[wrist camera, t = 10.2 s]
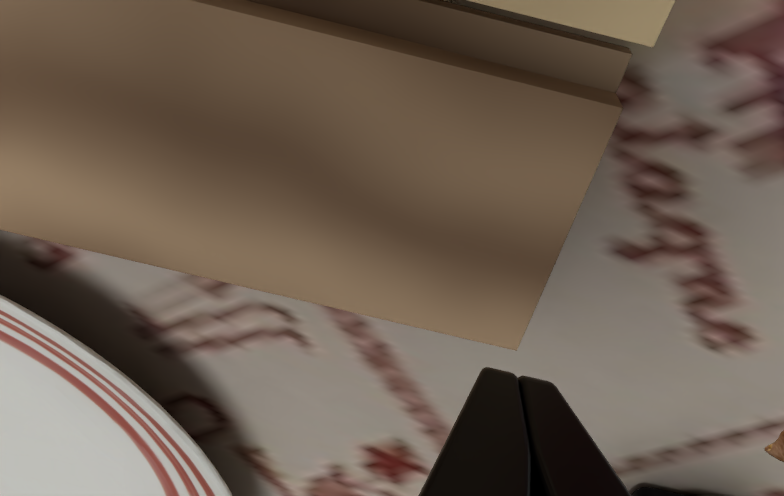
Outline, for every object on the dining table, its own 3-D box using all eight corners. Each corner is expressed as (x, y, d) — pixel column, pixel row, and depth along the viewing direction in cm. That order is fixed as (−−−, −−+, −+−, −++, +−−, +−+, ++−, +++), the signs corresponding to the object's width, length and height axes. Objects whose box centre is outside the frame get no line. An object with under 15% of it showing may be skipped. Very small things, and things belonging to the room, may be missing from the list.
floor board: (514, 319, 22) (516, 350, 21) (-110, 171, 21) (-147, 195, 20) (628, 48, 17) (640, 68, 16) (-186, -159, 16) (-242, -155, 15)
